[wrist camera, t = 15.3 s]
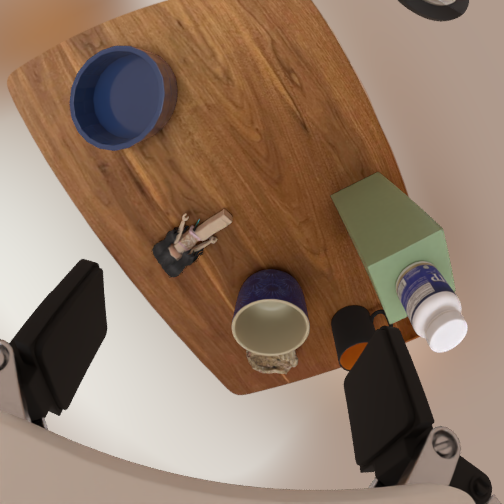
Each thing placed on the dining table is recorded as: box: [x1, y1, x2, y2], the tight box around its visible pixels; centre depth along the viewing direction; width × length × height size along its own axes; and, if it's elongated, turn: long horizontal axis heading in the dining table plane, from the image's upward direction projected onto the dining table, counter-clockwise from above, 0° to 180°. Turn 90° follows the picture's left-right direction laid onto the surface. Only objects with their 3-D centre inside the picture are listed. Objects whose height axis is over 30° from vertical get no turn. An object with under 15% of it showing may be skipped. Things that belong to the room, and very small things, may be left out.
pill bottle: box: [396, 261, 468, 352], centre depth 26 cm, size 5×5×9 cm
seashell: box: [246, 350, 298, 374], centre depth 63 cm, size 11×7×10 cm
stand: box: [331, 172, 455, 324], centre depth 40 cm, size 9×9×22 cm
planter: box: [232, 269, 310, 356], centre depth 53 cm, size 12×12×11 cm
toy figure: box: [151, 209, 232, 277], centre depth 51 cm, size 7×6×15 cm
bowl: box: [70, 46, 177, 151], centre depth 39 cm, size 16×16×6 cm
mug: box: [331, 305, 393, 371], centre depth 56 cm, size 8×12×10 cm
